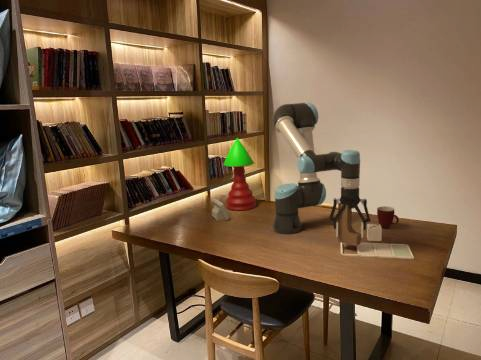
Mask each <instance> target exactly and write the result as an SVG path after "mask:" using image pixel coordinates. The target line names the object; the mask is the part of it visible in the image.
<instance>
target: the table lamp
mask: <svg viewBox="0 0 481 360" xmlns="http://www.w3.org/2000/svg"><path fill="white" fill-rule="evenodd" d="M254 163H255V162H254V160H253V159H252V157H251V156H250V154H249V152H248V150H247V148H246V147H245V146H244V144H243V143H242V142H241V141H240V139H239V138H238V137H236V139H235V140H234V142H233V143H232V145H231V147H230V148H229V151H228V153H227V155H226V157H225V160H224V161H223V166H224V167H229V168H233V169H232V171H233V178H232V181H233V182H232V185H231V186H230V187H231V188H230V190H229V192H228V197H227V198H226V199H225V203H226V205H225V209H227V210H230V211H238V212H239V211H248V210H251V209H254V208H255V207H256V206H257V203H256V201H257V199H256V197H255V195H253V191H252V190H251V189H250V187H249V184H248V182H247V179H246V175H245V173H246V169H245V167H248V166H252V165H254Z"/></svg>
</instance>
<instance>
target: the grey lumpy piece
mask: <svg viewBox="0 0 481 360" xmlns="http://www.w3.org/2000/svg"><path fill="white" fill-rule="evenodd" d="M211 203H212V205H213V208H212V209H211V216H213V217H214V218H215V220H216V221H217V220H218V221H220V220H219V219H224V220H225V221H229V220H230V216H229V214H228V212H227V210H226V209H227V208H226V206H225V205H224V203H223V202H221V201H220V200H218V199H217V198H212V199H211ZM213 217H212V218H213ZM214 218H213V219H214Z"/></svg>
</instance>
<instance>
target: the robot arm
mask: <svg viewBox="0 0 481 360" xmlns="http://www.w3.org/2000/svg"><path fill="white" fill-rule="evenodd" d="M318 122H319V112H318V108H317V107H316V106H315V105H314V104H313V103H312V102H298V103H285V104H282V105H279V107H278V108H276V110H275V111H274V112H273V116H272V123H273V126H274V128H275V130H276V131H277V132H278V133H280V134H281V135H282V137H283V138H284V141H286V143H287V144H288V146H289V147H290V149H291V151H292V152H293V153H294V155H295V156H296V158H297V161H296V166H297V169H298V171H299V176H300V177H299V180H298V181H297V184H296V183H285V184H284V183H282V184H280V185H278V186H277V187H276V188H275V190H274V201H275V202H274V203H275V217H274V220H273V224H272V230H273V232H275V233H278V234H285V235H286V234H287V235H290V234H296V233H299V232H301V231H302V230H303V224H302V220H301V218H300V215H299V209H303V208H309V207H316V206H317V207H318V206H321V205H322V204H323V203H324V202H325V200H326V198H327V197H326V196H327V189H326V187H325V184H324V183H322V182H321V179H320V178H319V177H318V174H317V173H321V172H329V171H340V172H341V173H340V186H341V187H340V197H339V198H336V197H334V198H333V205H332V208H331V211H330V215H329V217H328V218H329V221H330V222H332V223H333V229H334V230H336V231H335V232H336V233H335V234H336V235H335V237H336V238H338V218H339V217H340V215H341V213H342V212H343V210H344V209H345V208H346V205H349V208H352V209H354V210H355V211H356V213H357V215H359V218H360V219H361V222H360V234H361V239H362V238H364V231H367V224H368V223H370V222H372V221H371V216H370V213H369V210H368V206H367V203H368V201H367V200H368V199H366V198H360V175H361V174H360V173H361V172H360V171H361V153H360V151H358V150H353V149H349V150H348V149H347V150H343V151H342V152H341V153H340V152H337V151H329V152H327V153H323V154H321V153H320V154H317V153H316V152H315V147H314V145H315V143H314V135H313V131H314V130H315V129H316V125H317V124H318ZM340 202H341V203H342V204H343V207H342V208H341V209H340V211H339V212H338V211H337V213H336V214H335V212H336V208H337V206H338V203H340ZM359 204H361V205H362V206H363V209H364V213H365V216H364V215H363V213H362V211H361V209H360V208H359V206H358V205H359ZM365 217H366V218H365Z"/></svg>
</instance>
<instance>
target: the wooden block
mask: <svg viewBox="0 0 481 360" xmlns="http://www.w3.org/2000/svg"><path fill="white" fill-rule="evenodd" d="M337 206H338V207H337V208H338V209H337V213H338V212H339V211H340V209H341V208H342V207H343V204H342V203H341V202H339V203H338V204H337ZM352 215H353V214H352V208H349V205H346V208H345V209H344V210H343V212H342V213H341V215H340V217H339V218H338V220H337V221H338V237H337V242H338V243H340V242H341V243H345V244H344V245H349V246H350V245H351V246H354V247H357V246H358V245H359V244H360V243H362V238H361V232H358V231H356V230H355V229H354V228H353V224H352V221H353V220H352V219H353V218H352V217H353V216H352Z"/></svg>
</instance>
